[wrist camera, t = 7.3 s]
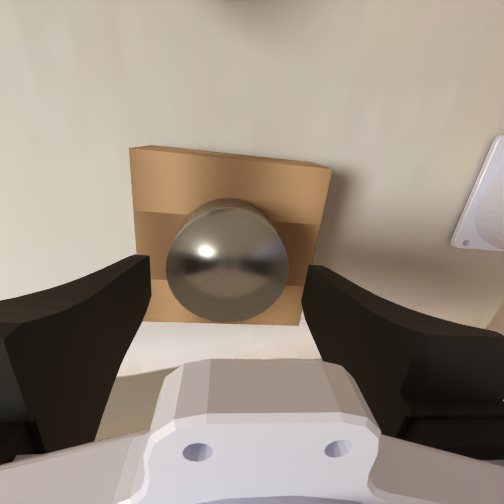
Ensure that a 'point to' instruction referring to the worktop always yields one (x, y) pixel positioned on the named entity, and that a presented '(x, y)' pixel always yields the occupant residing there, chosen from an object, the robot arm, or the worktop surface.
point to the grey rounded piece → (227, 261)
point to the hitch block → (216, 187)
